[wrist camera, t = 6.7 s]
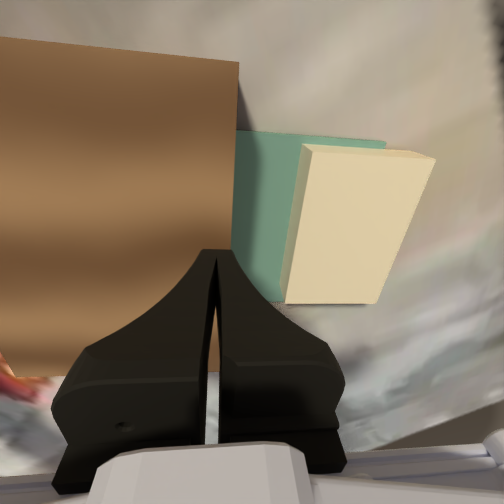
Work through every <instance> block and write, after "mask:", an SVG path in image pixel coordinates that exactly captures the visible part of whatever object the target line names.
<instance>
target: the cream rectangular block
mask: <svg viewBox="0 0 504 504" xmlns="http://www.w3.org/2000/svg"><path fill="white" fill-rule="evenodd" d="M435 161H436V159H433V158H430V157H427V156H424V155H421V154H419V153H416V152H413V151H404V150H389V149H375V148H360V147H345V146H330V145H315V144H302V146H301V152H300V158H299V164H298V171H297V177H296V183H295V189H294V195H293V201H292V208H291V214H290V220H289V226H288V232H287V239H286V245H285V251H284V257H283V263H282V269H281V276H280V282H279V285H280V288H281V292H282V296H283V299H284V303H285V304H376V302H377V300H378V298H379V295H380V293H381V291H382V288H383V286H384V283H385V281H386V279H387V276H388V274H389V271H390V269H391V267H392V264H393V262H394V259H395V257H396V255H397V252H398V250H399V247H400V245H401V243H402V240H403V238H404V235H405V233H406V231H407V228H408V226H409V224H410V221H411V219H412V216H413V214H414V212H415V209H416V207H417V204H418V202H419V200H420V197H421V195H422V192H423V190H424V188H425V185H426V183H427V180H428V178H429V176H430V173H431V171H432V169H433V166H434V164H435Z"/></svg>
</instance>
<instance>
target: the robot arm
mask: <svg viewBox="0 0 504 504" xmlns="http://www.w3.org/2000/svg"><path fill="white" fill-rule="evenodd" d="M215 308H216V316H217V328H218V341H219V357H220V368H219V429H218V444H208V445H205V427H206V404H207V381H208V360H209V350H210V343H211V336H212V329H213V322H214V315H215ZM344 387H345V379H344V375H343V373H342V371H341V368H340V366H339V364H338V362H337V360H336V358H335V356H334V354H333V353H332V351H331V349H330V347H329V346H328V344H327V343H326V342H324V341H323V340H321V339H319V338H317V337H316V336H314V335H312V334H310V333H309V332H307V331H305V330H304V329H302V328H301V327H299V326H298V325H296V324H295V323H293V322H292V321H290V320H289V319H288V318H286V317H285V316H284V315H283V314H282V313H280V312H279V311H278V310H277V309H275V308H274V307H273V306H272V305H271V304H270V303H269V302H268V301H267V300H266V299H265V298H264V297H263V296H262V295H261V294H260V292H259V291H258V290H257V289H256V288H255V286H254V285H253V284H252V283H251V281H250V280H249V278H248V277H247V276H246V274H245V273H244V271H243V270H242V268H241V266H240V264H239V263H238V261H237V259H236V257H235V254H234V252H233V251H232V250H228V249H202V250H201V251H200V253H199V255H198V256H197V258H196V260H195V261H194V263H193V264H192V266H191V267H190V268H189V270H188V271H187V272H186V274H185V275H184V276H183V277H182V278H181V279H180V281H179V282H178V283H177V284H176V285H175V286H174V287H173V288H172V289H171V290H170V291H169V292H168V293H167V294H166V295H165V296H164V297H163V298H162V299H161V300H160V301H159V302H158V303H156V304H155V305H154V306H153V307H151V308H150V309H149V310H148V311H146V312H145V313H144V314H142V315H141V316H140V317H138V318H137V319H135V320H133V321H132V322H130V323H129V324H127V325H126V326H124V327H122V328H121V329H119V330H117V331H116V332H114V333H112V334H110V335H108V336H106V337H104V338H102V339H101V340H99V341H97V342H95V343H93V344H91V345H89V346H87V347H85V348H84V349H83V351H82V352H81V354H80V355H79V357H78V358H77V359H76V361H75V362H74V364H73V365H72V367H71V368H70V370H69V372H68V373H67V375H66V377H65V379H64V381H63V383H62V384H61V386H60V388H59V390H58V392H57V394H56V396H55V397H54V399H53V402H52V406H51V411H52V415H53V418H54V420H55V421H56V423H57V425H58V427H59V429H60V430H61V432H62V434H63V436H64V438H65V439H66V441H67V443H68V446H67V448H66V450H65V453H64V455H63V457H62V460H61V462H60V464H59V467H58V469H57V471H56V473H52V474H38V475H23V476H9V477H0V504H504V428H502V429H498V430H496V431H494V432H492V433H491V434H489V435H488V436H487V437H486V438H485V439H484V441H483V443H478V444H464V445H450V446H436V447H422V448H407V449H393V450H379V451H364V452H350V453H344V450H343V447H342V444H341V441H340V438H339V435H338V432H337V430H338V429H339V422H338V419H337V416H336V413H335V409H336V407H337V405H338V403H339V400H340V398H341V396H342V394H343V391H344Z"/></svg>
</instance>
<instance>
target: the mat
mask: <svg viewBox="0 0 504 504" xmlns="http://www.w3.org/2000/svg"><path fill="white" fill-rule="evenodd" d="M302 144H315V145H330V146H345V147H360V148H375V149H384V148H385V145H386V142H384V141H373V140H360V139H347V138H334V137H321V136H308V135H295V134H282V133H269V132H256V131H243V130H236V141H235V162H234V184H233V205H232V227H231V248H230V250H232V251H233V252H234V254H235V257H236V259H237V261H238V263H239V264H240V266H241V268H242V270H243V271H244V273H245V274H246V276H247V277H248V278H249V280H250V281H251V283H252V284H253V285H254V286H255V288H256V289H257V290H258V291H259V292H260V294H261V295H262V296H263V297H264V298H265V299H266V300H267V301H268V302H284V299H283V296H282V292H281V288H280V285H279V282H280V276H281V269H282V263H283V257H284V251H285V245H286V239H287V232H288V226H289V220H290V214H291V208H292V201H293V195H294V189H295V183H296V177H297V171H298V164H299V158H300V152H301V146H302Z"/></svg>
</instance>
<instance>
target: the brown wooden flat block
mask: <svg viewBox="0 0 504 504" xmlns="http://www.w3.org/2000/svg"><path fill="white" fill-rule="evenodd" d="M238 76H239V62H233V61H224V60H215V59H205V58H196V57H186V56H177V55H168V54H158V53H149V52H140V51H130V50H121V49H111V48H102V47H93V46H83V45H74V44H65V43H55V42H46V41H36V40H27V39H18V38H8V37H0V352H1V353H2V355H3V357H4V358H5V360H6V362H7V363H8V365H9V367H10V368H11V370H12V372H13V373H14V375H15V376H16V377H44V376H66V375H67V373H68V372H69V370H70V368H71V367H72V365H73V364H74V362H75V361H76V359H77V358H78V357H79V355H80V354H81V352H82V351H83V349H84V348H85V347H87V346H89V345H91V344H93V343H95V342H97V341H99V340H101V339H102V338H104V337H106V336H108V335H110V334H112V333H114V332H116V331H117V330H119V329H121V328H122V327H124V326H126V325H127V324H129V323H130V322H132V321H133V320H135V319H137V318H138V317H140V316H141V315H142V314H144V313H145V312H146V311H148V310H149V309H150V308H151V307H153V306H154V305H155V304H156V303H158V302H159V301H160V300H161V299H162V298H163V297H164V296H165V295H166V294H167V293H168V292H169V291H170V290H171V289H172V288H173V287H174V286H175V285H176V284H177V283H178V282H179V281H180V279H181V278H182V277H183V276H184V275H185V274H186V272H187V271H188V270H189V268H190V267H191V266H192V264H193V263H194V261H195V260H196V258H197V256H198V255H199V253H200V251H201V250H202V249H228V250H230V248H231V227H232V205H233V184H234V162H235V141H236V119H237V98H238ZM219 368H220V357H219V341H218V328H217V316H216V308H215V315H214V322H213V329H212V336H211V343H210V350H209V360H208V372H219Z"/></svg>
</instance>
